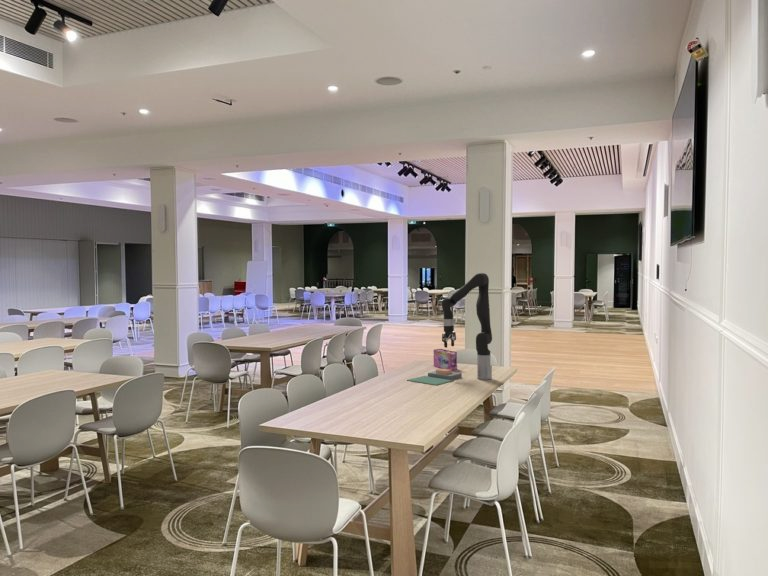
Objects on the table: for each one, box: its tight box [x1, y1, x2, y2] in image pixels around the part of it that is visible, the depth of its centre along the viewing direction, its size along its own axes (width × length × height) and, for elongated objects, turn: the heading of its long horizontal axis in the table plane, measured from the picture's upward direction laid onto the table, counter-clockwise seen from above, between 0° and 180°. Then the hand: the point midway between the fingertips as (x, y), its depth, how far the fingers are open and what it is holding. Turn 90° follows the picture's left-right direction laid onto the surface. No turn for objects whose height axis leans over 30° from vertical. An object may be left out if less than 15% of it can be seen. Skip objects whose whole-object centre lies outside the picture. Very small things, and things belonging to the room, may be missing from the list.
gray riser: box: [427, 370, 463, 380], centre depth 413 cm, size 20×14×3 cm
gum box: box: [433, 348, 458, 371], centre depth 452 cm, size 24×8×14 cm, turn 28°
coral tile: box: [435, 368, 453, 375], centre depth 412 cm, size 9×7×2 cm
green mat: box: [406, 375, 455, 386], centre depth 400 cm, size 26×20×1 cm
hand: (449, 346), depth 421 cm, fingers open, 8 cm apart
